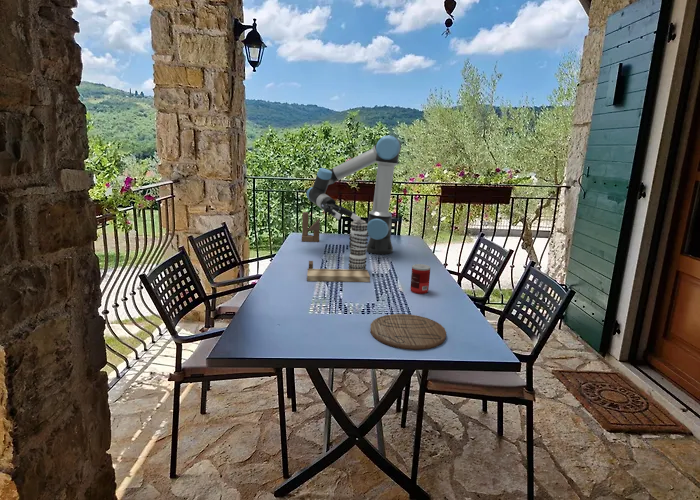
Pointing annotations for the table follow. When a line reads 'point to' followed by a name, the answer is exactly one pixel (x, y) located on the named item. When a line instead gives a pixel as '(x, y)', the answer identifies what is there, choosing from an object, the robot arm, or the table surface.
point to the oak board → (338, 275)
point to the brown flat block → (310, 264)
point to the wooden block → (305, 229)
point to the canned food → (420, 278)
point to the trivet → (408, 331)
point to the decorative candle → (358, 245)
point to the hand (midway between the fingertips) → (349, 218)
